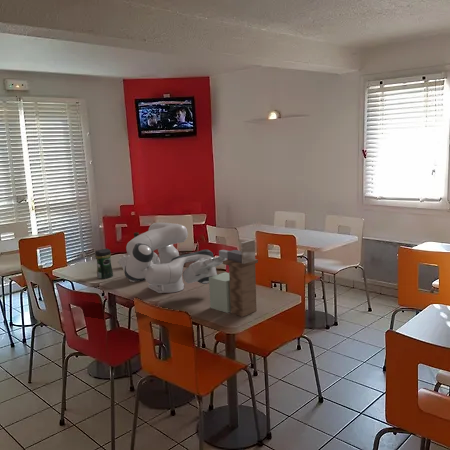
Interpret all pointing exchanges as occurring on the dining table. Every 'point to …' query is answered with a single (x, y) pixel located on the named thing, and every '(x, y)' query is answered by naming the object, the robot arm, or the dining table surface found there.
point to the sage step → (220, 292)
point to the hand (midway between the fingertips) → (219, 257)
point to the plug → (231, 255)
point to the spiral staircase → (124, 259)
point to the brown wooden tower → (243, 281)
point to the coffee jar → (103, 263)
